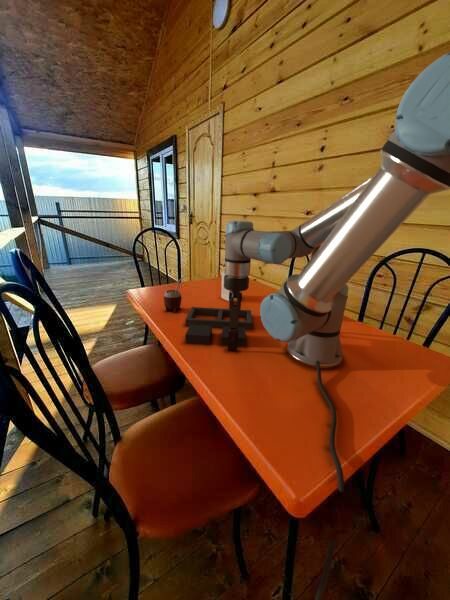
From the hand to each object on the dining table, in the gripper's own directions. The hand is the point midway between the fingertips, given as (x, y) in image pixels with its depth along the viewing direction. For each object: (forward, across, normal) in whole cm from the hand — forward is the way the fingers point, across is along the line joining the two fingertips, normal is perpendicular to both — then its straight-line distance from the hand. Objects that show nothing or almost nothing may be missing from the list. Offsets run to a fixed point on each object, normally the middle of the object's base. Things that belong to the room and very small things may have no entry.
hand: (233, 339), depth 82 cm
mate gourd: (+1, -23, -25) cm, 34 cm away
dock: (0, -15, -5) cm, 16 cm away
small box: (+1, -42, -2) cm, 42 cm away
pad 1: (0, 0, -11) cm, 11 cm away
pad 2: (0, 0, 0) cm, 0 cm away
